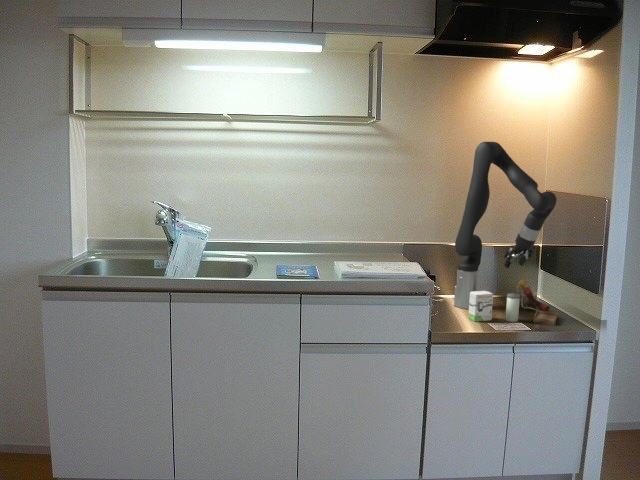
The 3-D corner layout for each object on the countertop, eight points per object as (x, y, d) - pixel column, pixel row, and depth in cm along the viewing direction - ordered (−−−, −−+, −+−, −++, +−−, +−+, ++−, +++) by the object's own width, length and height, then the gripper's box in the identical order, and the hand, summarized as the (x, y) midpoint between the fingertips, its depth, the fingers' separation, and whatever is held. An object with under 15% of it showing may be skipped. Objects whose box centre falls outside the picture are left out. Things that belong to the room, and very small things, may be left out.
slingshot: (545, 304, 253) (557, 303, 238) (530, 320, 252) (541, 319, 237) (518, 279, 256) (528, 276, 241) (503, 295, 255) (512, 293, 240)
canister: (504, 320, 227) (506, 295, 225) (506, 317, 231) (508, 292, 229) (517, 322, 224) (519, 297, 223) (519, 319, 229) (520, 294, 227)
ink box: (474, 321, 224) (476, 294, 223) (467, 318, 229) (469, 291, 227) (492, 320, 227) (493, 293, 225) (485, 316, 232) (486, 290, 230)
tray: (532, 322, 225) (533, 317, 225) (536, 314, 236) (536, 310, 236) (554, 325, 221) (555, 320, 221) (557, 317, 232) (557, 313, 232)
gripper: (533, 228, 230) (519, 258, 239) (509, 231, 224) (495, 262, 233) (546, 238, 225) (531, 269, 234) (521, 241, 219) (507, 273, 228)
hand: (513, 265), depth 233 cm, fingers open, 8 cm apart
